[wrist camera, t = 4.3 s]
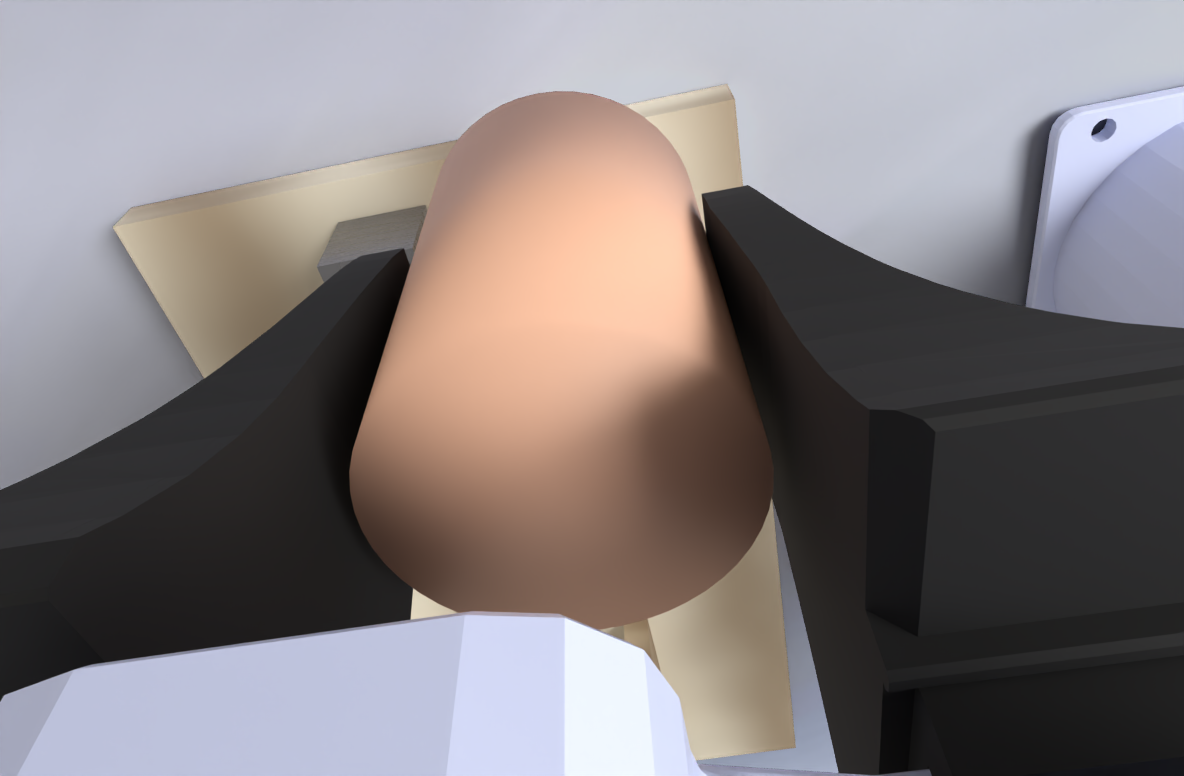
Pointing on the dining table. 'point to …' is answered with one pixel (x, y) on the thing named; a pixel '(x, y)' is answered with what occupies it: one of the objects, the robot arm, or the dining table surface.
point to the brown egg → (562, 380)
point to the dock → (407, 179)
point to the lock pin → (372, 238)
